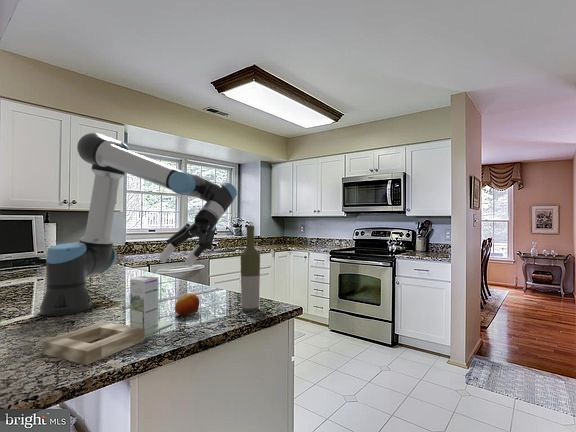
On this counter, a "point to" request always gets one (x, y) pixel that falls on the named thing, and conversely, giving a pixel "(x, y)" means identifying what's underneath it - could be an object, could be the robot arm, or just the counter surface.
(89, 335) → the slotted stand
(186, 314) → the fruit
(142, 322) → the syrup box
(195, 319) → the counter surface
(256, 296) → the bottle
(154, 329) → the mat
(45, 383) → the counter surface
